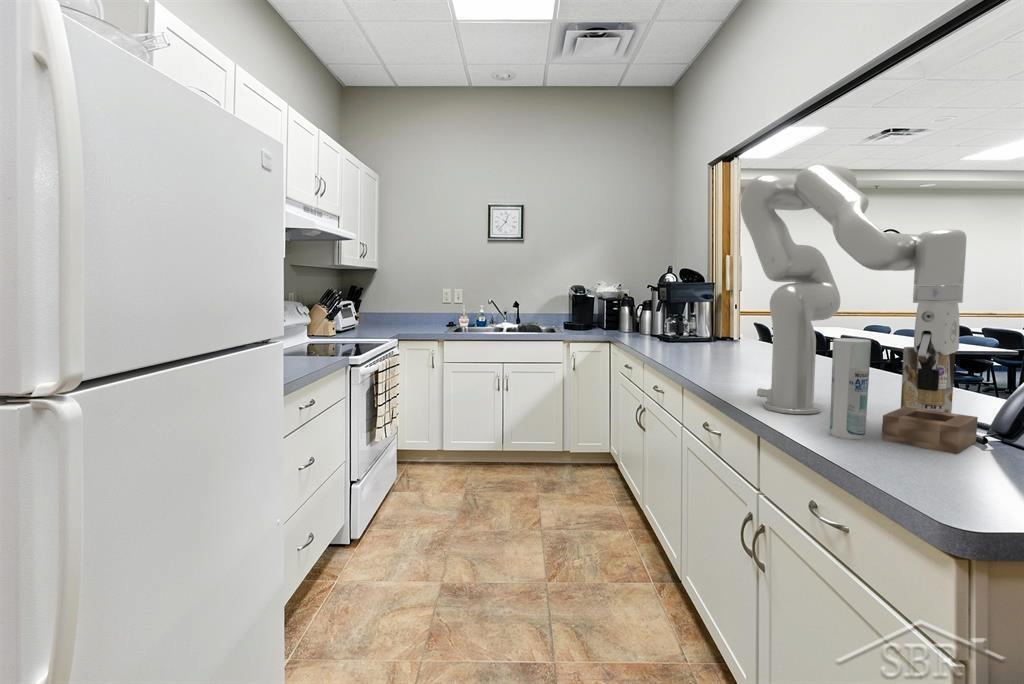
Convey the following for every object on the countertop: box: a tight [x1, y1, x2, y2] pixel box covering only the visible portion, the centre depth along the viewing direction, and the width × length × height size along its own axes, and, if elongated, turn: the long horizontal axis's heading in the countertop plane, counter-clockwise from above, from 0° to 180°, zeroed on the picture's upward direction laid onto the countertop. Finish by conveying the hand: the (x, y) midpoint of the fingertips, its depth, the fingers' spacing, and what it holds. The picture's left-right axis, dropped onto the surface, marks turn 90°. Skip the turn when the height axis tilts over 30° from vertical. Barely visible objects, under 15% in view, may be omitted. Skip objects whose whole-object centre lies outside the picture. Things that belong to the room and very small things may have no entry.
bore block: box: [881, 407, 979, 455], centre depth 104 cm, size 12×12×5 cm
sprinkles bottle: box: [917, 342, 948, 406], centre depth 103 cm, size 5×5×14 cm
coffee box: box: [900, 346, 956, 413], centre depth 123 cm, size 9×6×16 cm
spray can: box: [829, 337, 872, 440], centre depth 108 cm, size 6×6×20 cm
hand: (932, 387), depth 103 cm, fingers closed on sprinkles bottle, 4 cm apart
